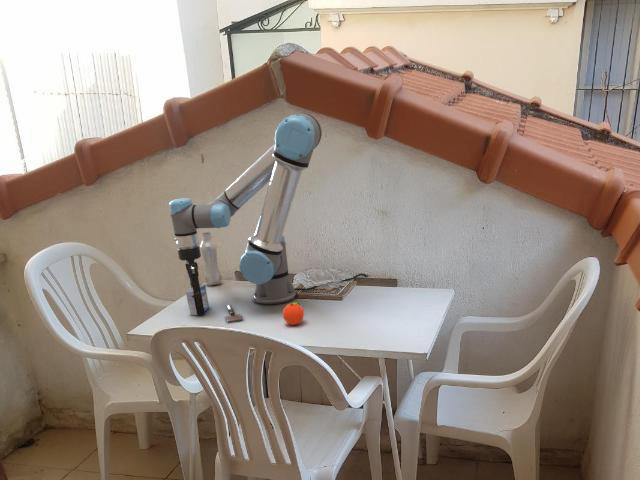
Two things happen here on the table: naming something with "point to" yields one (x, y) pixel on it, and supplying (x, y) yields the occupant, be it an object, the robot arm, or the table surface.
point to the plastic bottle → (210, 260)
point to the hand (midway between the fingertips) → (199, 310)
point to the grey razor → (233, 315)
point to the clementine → (293, 313)
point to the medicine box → (192, 302)
